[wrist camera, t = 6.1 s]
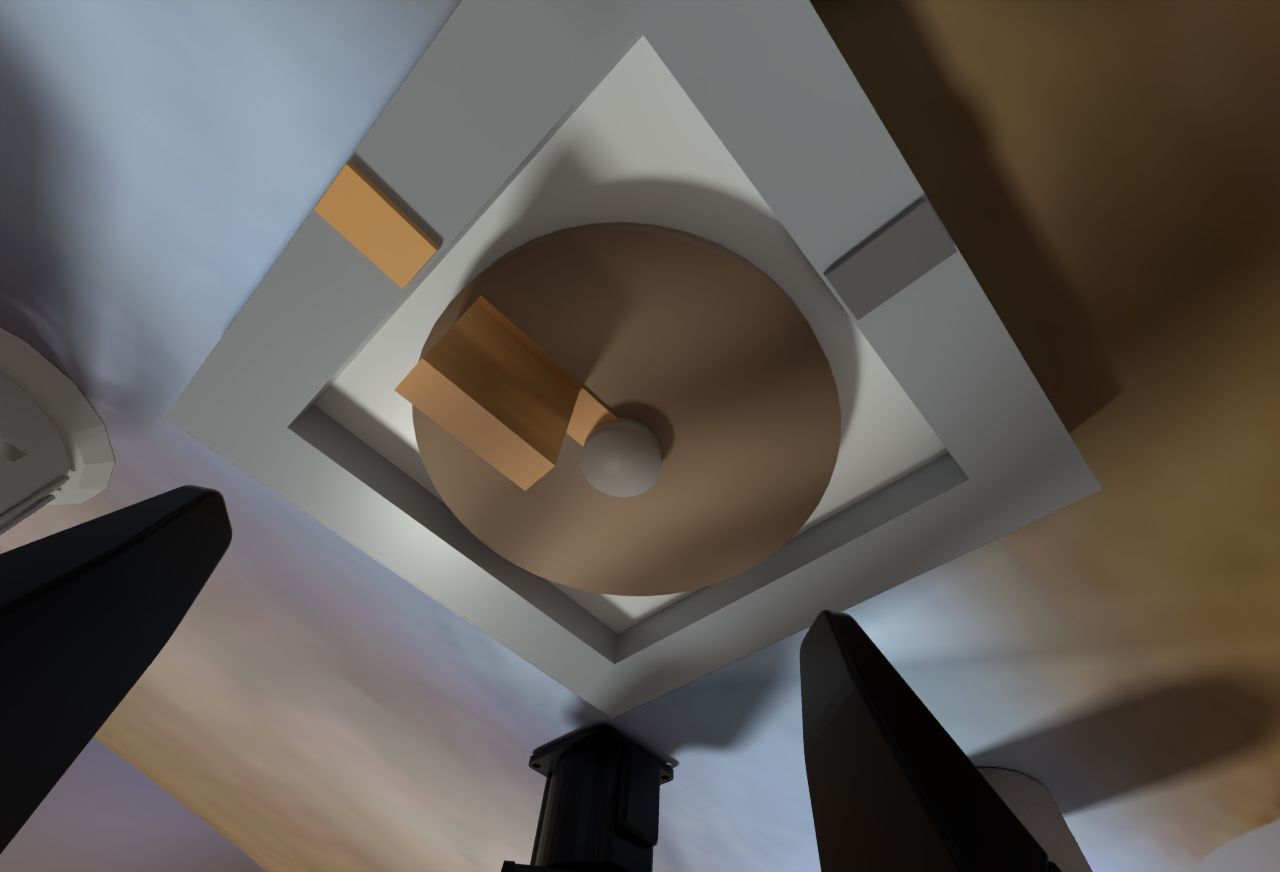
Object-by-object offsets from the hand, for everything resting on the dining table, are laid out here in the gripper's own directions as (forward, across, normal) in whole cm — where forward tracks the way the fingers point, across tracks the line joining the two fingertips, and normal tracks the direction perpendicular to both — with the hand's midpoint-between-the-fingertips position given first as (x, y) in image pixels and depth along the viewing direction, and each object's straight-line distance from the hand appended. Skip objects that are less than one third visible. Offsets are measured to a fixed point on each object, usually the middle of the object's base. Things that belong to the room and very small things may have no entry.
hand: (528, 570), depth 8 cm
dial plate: (+12, -1, +4) cm, 13 cm away
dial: (+10, -1, +4) cm, 11 cm away
